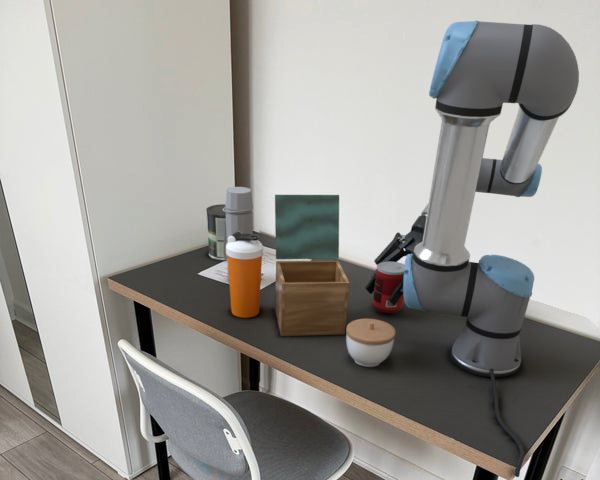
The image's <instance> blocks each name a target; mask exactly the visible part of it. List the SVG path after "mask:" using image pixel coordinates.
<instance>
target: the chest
mask: <svg viewBox="0 0 600 480" xmlns="http://www.w3.org/2000/svg"><path fill="white" fill-rule="evenodd" d="M350 283H351V282H350V281H349V279H348V277H347V275H346V273H345V271H344V269H343V267H342V265H341V262H340V261H339V260H276V261H275V295H274V296H275V298H274V300H275V301H274V302H275V303H274V304H275V305H274V312H275V316H276V320H277V321H276V322H277V325H278V329H279V333H280V337H292V336H293V337H296V336H297V337H298V336H299V337H300V336H333V335H335V336H336V335H337V336H339V335H346V328H347V316H348V305H349V296H350V295H349V294H350Z"/></svg>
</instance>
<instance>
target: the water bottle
mask: <svg viewBox="0 0 600 480" xmlns="http://www.w3.org/2000/svg"><path fill="white" fill-rule="evenodd" d="M252 194H253V193H252V189H251V188H249V187H244V186H232V187H228V188H226V191H225V208H223V211H224V212H226V218H225V234H224V250H223V251H224V259H225V260H224V261H226V264H227V266H226V267H228V259H227V258H226V251H225V250H226V233H227V243H228V237H229V236H230V235H232V234H233V233H235V232H236V231H240V232H241V233H242V234H254V232H253V231H254V230H253V229H254V224H253V221H254V219H253V218H254V217H253V216H254V213H253V210H254V206H253V205H254V203H253V195H252ZM224 209H225V210H224ZM227 280H228V281H229V272H228V271H227Z"/></svg>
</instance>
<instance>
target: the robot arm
mask: <svg viewBox="0 0 600 480" xmlns="http://www.w3.org/2000/svg"><path fill="white" fill-rule="evenodd" d="M579 82H580V71H579V64H578V60H577V56H576V54H575V52H574V50H573V48H572V47H571V45H570V43H569V41H567V39H566V38H565V37H564V36H563V35H562V34H561V33H559V32H558V31H556V30H555V29H553V28H551V27H550V26H546V25H543V24H535V23H532V24H523V23H508V22H494V21H481V20H470V21H468V20H467V21H466V20H465V21H454V22H452V23H451V24H449V26H447V28H446V29H445V33H444V36H443V38H442V41H441V45H440V48H439V52H438V56H437V59H436V63H435V67H434V70H433V74H432V78H431V83H430V87H429V90H428V91H429V92H428V95H429V97H430V98H432V99H436V100H435V106H434V109H435V111H436V113H437V115H438V116H439V117H440V118H441V123H440V129H439V134H438V143H437V147H436V148H437V149H436V155H435V160H434V166H433V173H432V181H431V184H430V185H431V186H430V192H429V198H428V203H427V204H426V206H425V207H424V208H423V210H421V212H420V215H419V216H418V217H417V218H416V220H415V221H414V222H413V224H412V225H411V229H410V231H409V232H408V233H407V234H401V233H400V232H396V233H395V235H394V237H393V239H392V240H391V241H390V242H389V243H388V245H387V246H386V247H385V248H384V249H383V250H382V251H381V252H380V253H379V255H378V256H376V257H375V258H374V261H373V262H374V263H375V265H376V266H377V265H378V264H379V263H382V262H399V261H400V260H401V259H402V258H404V257H405V261H404V265H405V267H404V278H403V279H402V281H401V282H400V283H399V285H398V286H397V287H396V289H395V290H394V292H393V293H392V294H391V296H390V297H389V301H390V302H391V303H392V304H393V305H395V304H396V303H397V302H398V300H399V299H400V297H401V296H402V295H404V300H403V303H404V304H405V306H406V307H407V308H409V309H412V310H418V311H421V312H423V313H426V312H428V313H436V314H443V315H449V316H456V317H463V318H466V321H465V325H464V326H463V328H462V330H461V331H460V333H459V334H458V336H457V338H456V340H455V342H453V345H452V347H451V352H450V358H451V360H452V362H453V363H454V364H455V365H456V366H457V367H459V368H460V369H461V370H464V371H466V372H467V373H470V374H473V375H476V376H479V377H480V376H481V377H485V378H490V380H491V387H492V392H493V393H492V394H493V399H494V414H495V417H496V420H497V422H498V424H499V425H500V427H501V428H502V429H503V430H504V431H505V433H507V434H508V435H509V437H510V438H511V439H512V440H513V441H514V443H515V444H516V445H517V448H518V451H519V456H518V459H517V462H516V466H515V470H514V477H516V478H519V477H520V475H521V468H522V465H523V461H524V459H525V448H524V445H523V444H522V441H521V440H520V439H519V437H517V435H516V434H515V433H514V432H512V431H511V429H510V428H509V427H508V426H507V425H506V423H505V422H504V421H503V419H502V417H501V413H500V405H499V394H498V388H497V381H496V378H505V377H509V376H512V375H514V374H516V373H517V372H518V371H519V369H520V366H521V363H522V353H521V351H522V350H521V340H520V335H521V331H522V328H523V323H524V320H525V316H526V313H527V309H528V306H529V302H530V299H531V297H532V296H533V288H534V283H535V274H534V272H533V271H532V269H531V268H530V267H529V266H527V265H526V264H524V263H523V262H521V261H518V260H517V259H515V258H511V257H508V256H504V255H500V254H484V255H482V256H481V257H480V259H479V260H478V262H474V261H470V258H471V253H470V252H469V250H468V249H467V247H466V246H465V245H466V241H467V235H468V231H469V225H470V220H471V217H472V211H473V206H474V201H475V197H476V193H484V194H494V195H502V196H510V197H515V198H522V197H523V198H525V197H526V198H532V197H534V196H536V193H537V192H538V189H539V186H540V183H541V178H542V171H543V167H542V164H540V163H539V162H540V160H541V157H542V155H543V153H544V151H545V149H546V147H547V144H548V142H549V140H550V138H551V136H552V133H553V131H554V129H555V128H556V125H557V123H558V121H559V118H561V117H562V116H563V115H564V114H566V113H567V111H568V110H569V109H570V107H571V106H572V104H573V101H574V100H575V97H576V94H577V93H578V88H579ZM503 104H518V110H517V113H516V116H515V119H514V122H513V125H512V129H511V132H510V134H509V138H508V140H507V144H506V147H505V150H504V152H503V156H502V159H496V158H486V157H484V153H485V148H486V143H487V139H488V133H489V128H490V125H491V123H492V122H493V121H494V120H496V119H497V118H498V117H500V116H501V114H502V109H503V106H504V105H503ZM376 270H377V268H376V269H375V270H374V271H373V273H372V274H371V276H370V278H371V279H370V280H369V282H367V284H366V286H365V287H364V289H365V290H366V291H367V292H368V293H369V294H370V295H372V294H374V287H375V278H376Z"/></svg>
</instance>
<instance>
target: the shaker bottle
mask: <svg viewBox="0 0 600 480" xmlns="http://www.w3.org/2000/svg"><path fill="white" fill-rule="evenodd" d="M259 239H260V235H258V234H256V233H255V234H254V233H253V234H242V233H241V232H240V231H236V232H235V233H233V234H232V235H230V236H229V237H228V243H227V245H226V254H227V259H228V266H227V273H228V272H229V280H228V285H229V296H230V310H231V314H232V315H233V316H235V317H237V318H241V319H248V318H254V317H256V316H258V315H259V313H260V305H261V303H260V302H261V284H262V283H261V282H262V267H263V265H262V263H263V256H264V245H263V243H262V242H261V241H260V240H259Z"/></svg>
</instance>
